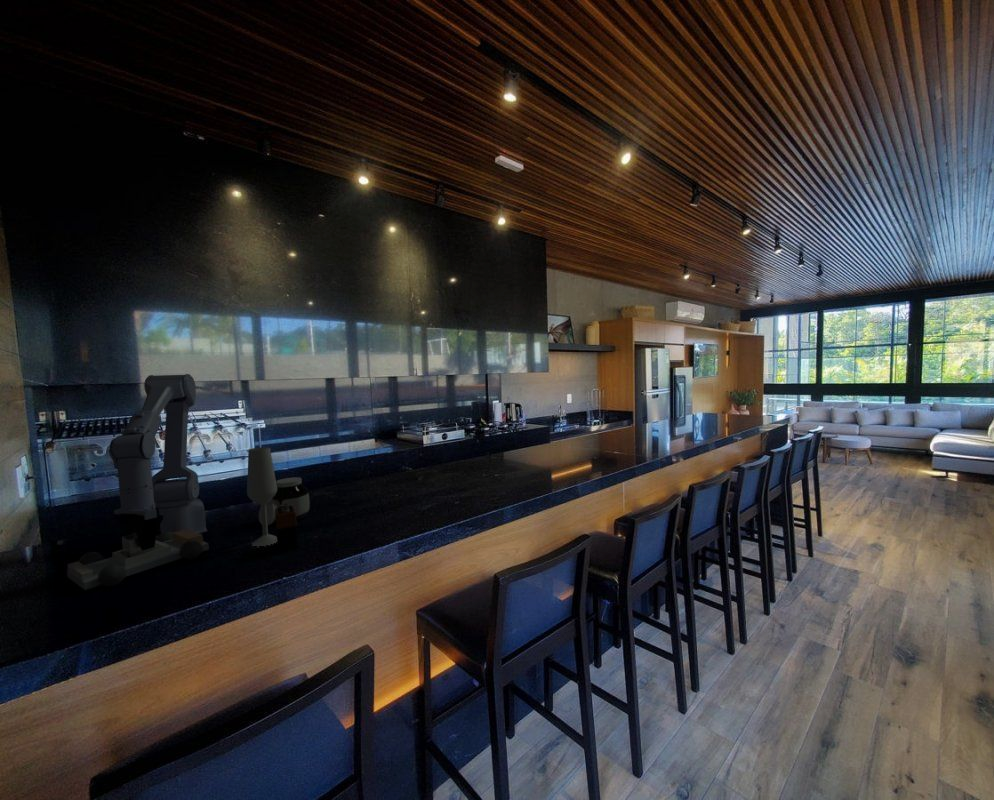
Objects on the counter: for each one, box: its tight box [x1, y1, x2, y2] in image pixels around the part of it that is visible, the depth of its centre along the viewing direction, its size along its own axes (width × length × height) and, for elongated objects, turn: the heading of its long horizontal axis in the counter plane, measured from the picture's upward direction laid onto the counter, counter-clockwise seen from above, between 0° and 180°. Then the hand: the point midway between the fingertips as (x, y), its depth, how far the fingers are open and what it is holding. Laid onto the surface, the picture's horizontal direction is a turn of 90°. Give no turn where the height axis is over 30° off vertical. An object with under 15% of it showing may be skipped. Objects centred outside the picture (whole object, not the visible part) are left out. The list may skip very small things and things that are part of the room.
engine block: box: [121, 532, 156, 558], centre depth 94 cm, size 4×4×6 cm
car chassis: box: [66, 529, 210, 591], centre depth 94 cm, size 22×15×4 cm
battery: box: [275, 503, 299, 553], centre depth 102 cm, size 4×7×10 cm, turn 30°
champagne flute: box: [246, 446, 277, 548], centre depth 105 cm, size 7×7×24 cm
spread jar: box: [258, 476, 311, 526], centre depth 121 cm, size 12×11×12 cm
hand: (141, 545), depth 94 cm, fingers open, 7 cm apart
